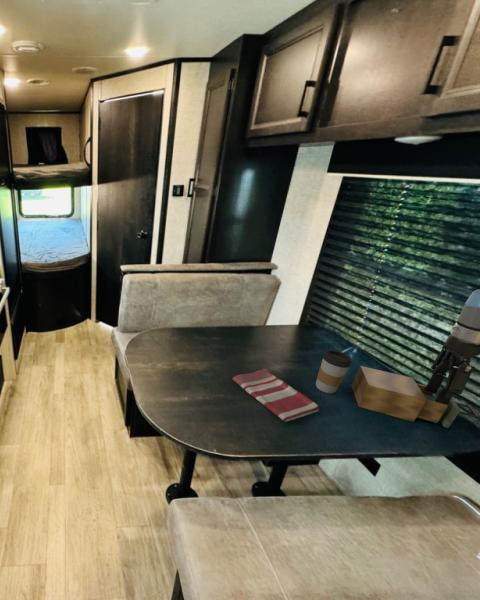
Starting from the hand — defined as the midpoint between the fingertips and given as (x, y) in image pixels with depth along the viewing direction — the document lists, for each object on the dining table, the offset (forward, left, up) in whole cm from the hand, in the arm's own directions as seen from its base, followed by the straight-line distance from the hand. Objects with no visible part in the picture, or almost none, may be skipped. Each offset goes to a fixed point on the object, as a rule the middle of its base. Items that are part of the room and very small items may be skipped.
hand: (434, 398), depth 104 cm
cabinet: (+12, +2, -7) cm, 14 cm away
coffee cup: (+28, +5, -8) cm, 29 cm away
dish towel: (+43, +22, -8) cm, 49 cm away
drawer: (0, 0, -6) cm, 6 cm away
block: (0, 0, -5) cm, 5 cm away
